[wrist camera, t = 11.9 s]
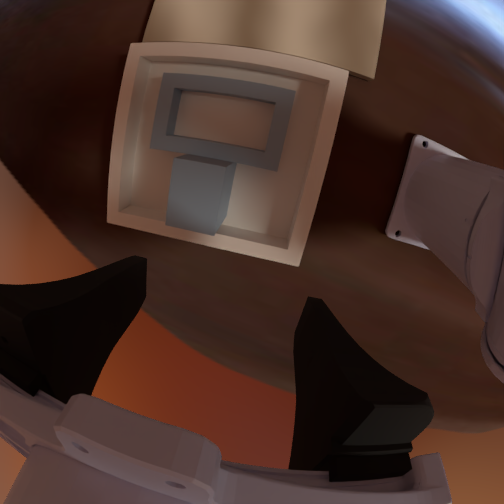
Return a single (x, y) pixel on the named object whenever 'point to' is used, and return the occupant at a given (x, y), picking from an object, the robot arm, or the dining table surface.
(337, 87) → the tray
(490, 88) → the dining table surface
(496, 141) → the dining table surface
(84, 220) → the dining table surface
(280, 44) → the tan square tile
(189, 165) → the grey blocky piece
